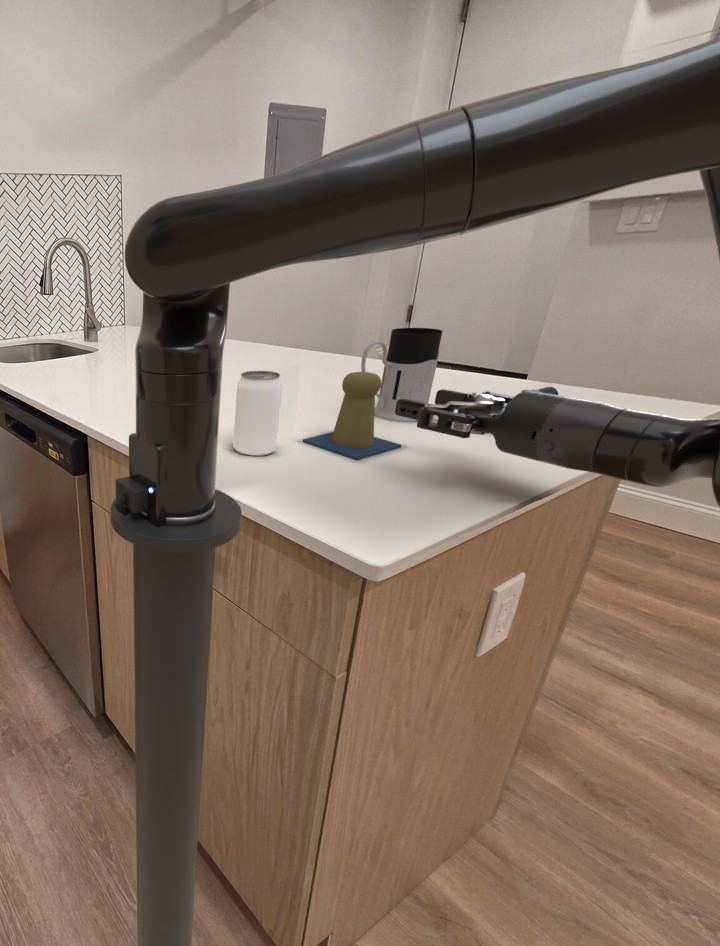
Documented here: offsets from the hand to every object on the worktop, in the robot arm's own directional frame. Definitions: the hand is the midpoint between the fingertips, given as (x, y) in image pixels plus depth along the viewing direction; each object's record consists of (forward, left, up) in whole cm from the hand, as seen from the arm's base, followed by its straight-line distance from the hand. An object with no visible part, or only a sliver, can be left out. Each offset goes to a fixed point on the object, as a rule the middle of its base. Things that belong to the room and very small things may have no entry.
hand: (417, 401), depth 72 cm
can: (-14, +15, -9) cm, 23 cm away
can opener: (+30, +1, -9) cm, 31 cm away
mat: (0, +9, -9) cm, 13 cm away
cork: (0, +9, -9) cm, 12 cm away
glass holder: (+18, +15, -9) cm, 25 cm away
